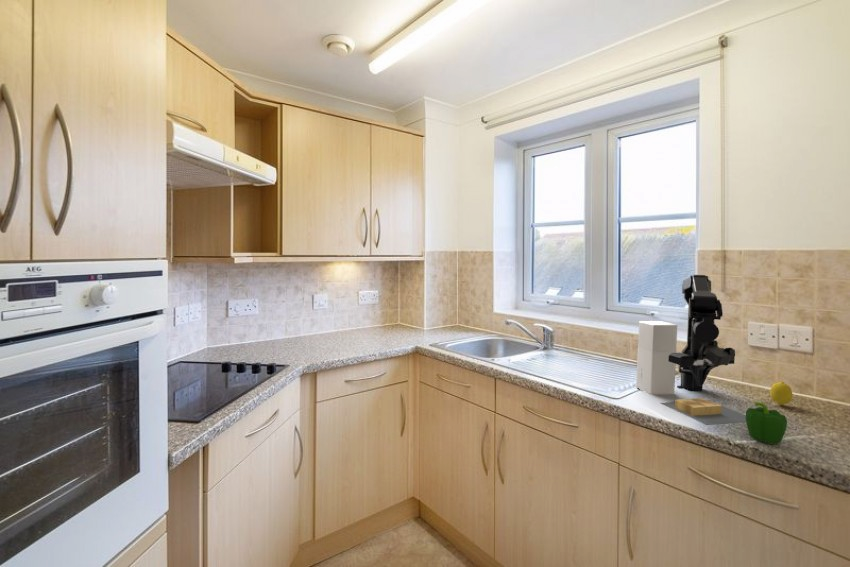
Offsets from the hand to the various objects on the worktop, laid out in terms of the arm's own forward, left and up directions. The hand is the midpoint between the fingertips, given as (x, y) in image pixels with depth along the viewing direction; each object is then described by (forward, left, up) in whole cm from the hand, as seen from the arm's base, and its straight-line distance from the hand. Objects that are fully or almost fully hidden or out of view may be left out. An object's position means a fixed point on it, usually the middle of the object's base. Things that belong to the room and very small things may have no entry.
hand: (699, 385), depth 128 cm
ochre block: (0, +5, -7) cm, 8 cm away
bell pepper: (+20, +1, -9) cm, 22 cm away
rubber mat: (+1, +2, -8) cm, 9 cm away
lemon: (-1, +32, -9) cm, 33 cm away
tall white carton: (-20, +1, -9) cm, 22 cm away
